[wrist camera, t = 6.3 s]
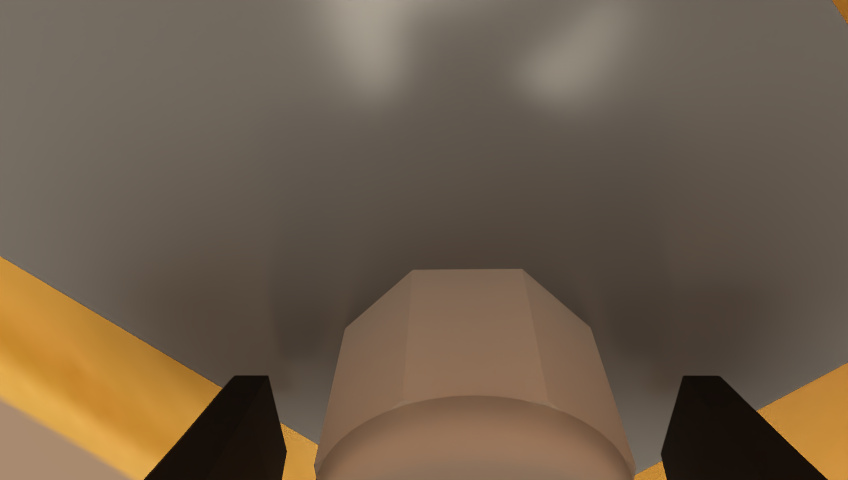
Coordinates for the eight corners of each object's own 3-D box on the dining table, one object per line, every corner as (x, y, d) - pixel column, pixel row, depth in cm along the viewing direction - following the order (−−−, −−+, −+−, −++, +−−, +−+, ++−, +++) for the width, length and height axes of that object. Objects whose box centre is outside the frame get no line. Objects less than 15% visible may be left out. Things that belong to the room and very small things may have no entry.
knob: (641, 365, 11) (739, 602, 7) (465, 474, 13) (473, 704, 9) (467, 214, 9) (481, 424, 6) (295, 365, 11) (224, 593, 8)
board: (966, 243, 11) (1170, 385, 8) (491, 512, 15) (502, 662, 12) (330, -692, 5) (190, -1389, 2) (-83, 154, 10) (-298, 264, 7)
